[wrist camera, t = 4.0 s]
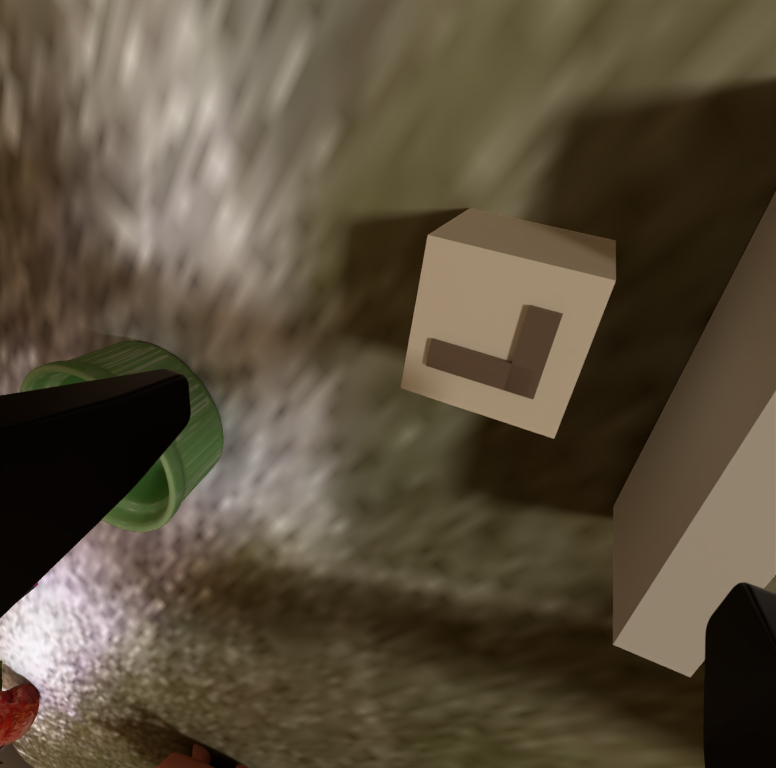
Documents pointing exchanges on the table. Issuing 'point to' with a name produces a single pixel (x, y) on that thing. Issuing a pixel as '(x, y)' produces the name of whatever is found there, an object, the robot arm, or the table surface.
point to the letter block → (507, 316)
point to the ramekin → (182, 458)
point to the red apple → (16, 711)
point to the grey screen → (704, 477)
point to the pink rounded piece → (190, 759)
